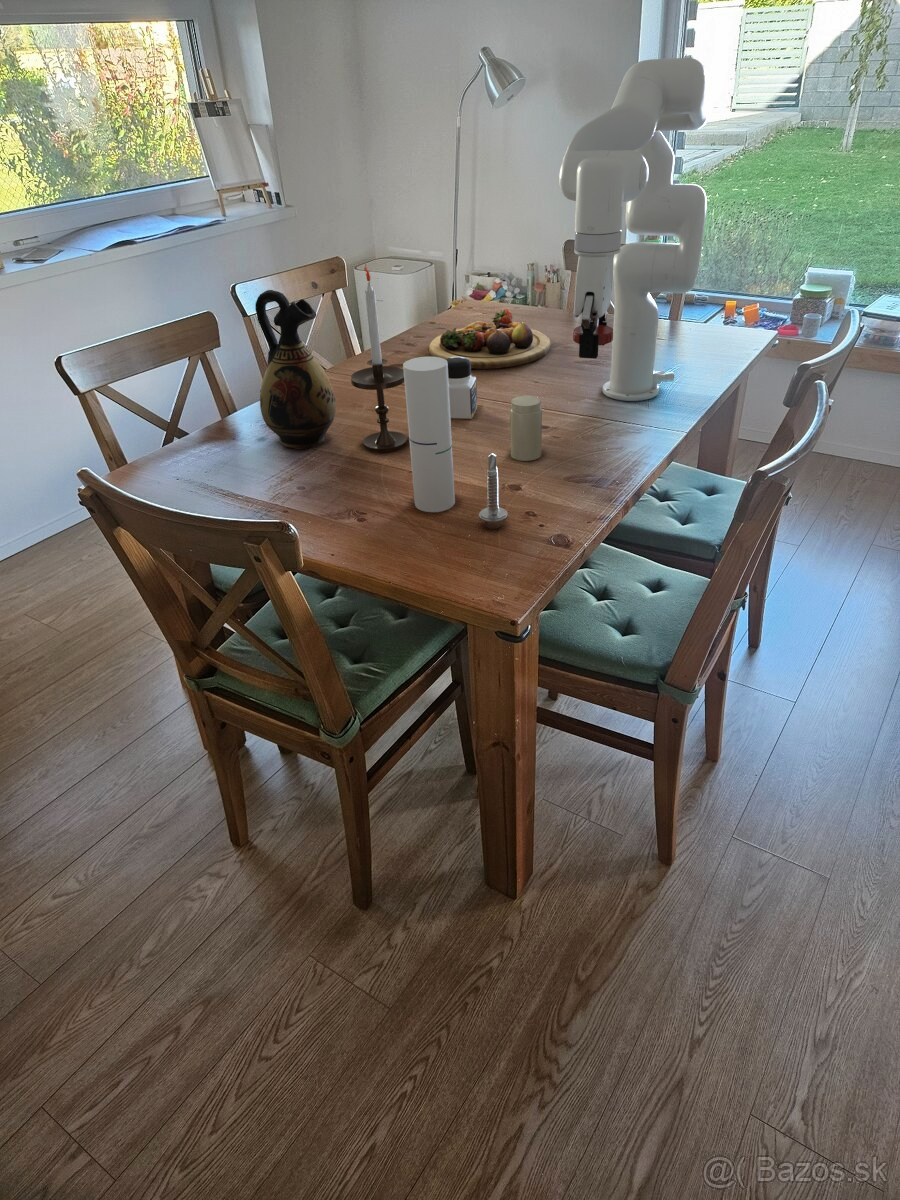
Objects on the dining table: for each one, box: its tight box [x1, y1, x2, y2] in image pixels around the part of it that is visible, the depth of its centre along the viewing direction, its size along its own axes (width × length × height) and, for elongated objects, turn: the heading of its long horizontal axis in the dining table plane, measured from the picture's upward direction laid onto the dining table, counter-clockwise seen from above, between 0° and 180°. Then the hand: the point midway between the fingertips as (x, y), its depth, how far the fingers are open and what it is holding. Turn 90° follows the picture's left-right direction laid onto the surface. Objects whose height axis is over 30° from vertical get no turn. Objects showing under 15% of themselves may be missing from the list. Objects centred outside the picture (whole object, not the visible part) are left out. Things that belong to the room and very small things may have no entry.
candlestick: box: [350, 263, 408, 454], centre depth 159 cm, size 11×11×35 cm
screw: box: [478, 453, 509, 530], centre depth 134 cm, size 13×5×5 cm
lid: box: [572, 325, 613, 346], centre depth 143 cm, size 7×7×2 cm
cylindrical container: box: [402, 356, 456, 513], centre depth 138 cm, size 7×7×25 cm
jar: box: [509, 395, 543, 462], centre depth 157 cm, size 6×6×11 cm
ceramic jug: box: [254, 289, 337, 450], centre depth 164 cm, size 17×15×30 cm
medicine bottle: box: [446, 356, 478, 420], centre depth 177 cm, size 7×7×12 cm
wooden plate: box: [428, 308, 551, 370], centre depth 214 cm, size 32×32×8 cm
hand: (592, 350), depth 144 cm, fingers closed on lid, 6 cm apart
